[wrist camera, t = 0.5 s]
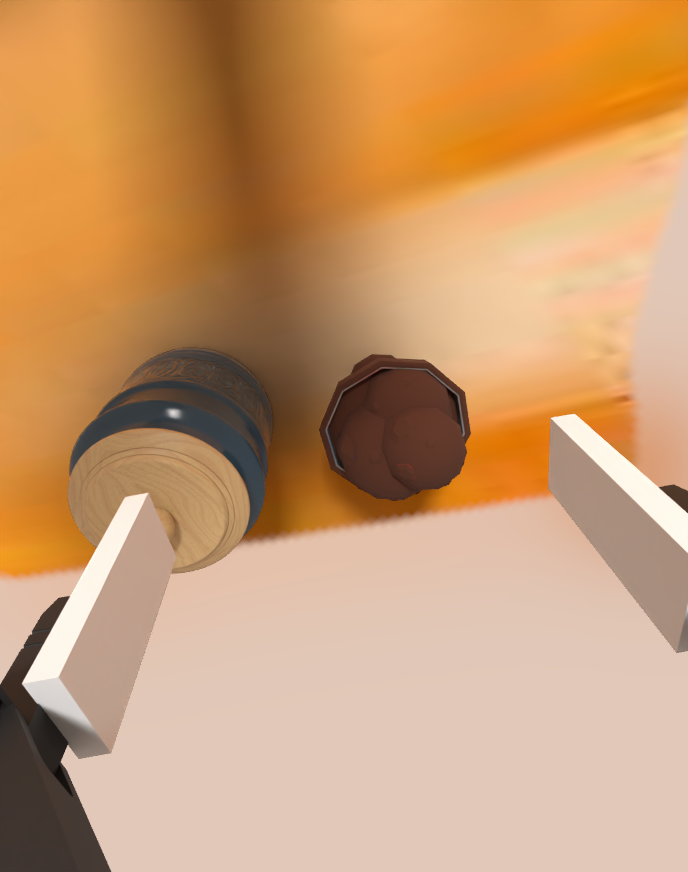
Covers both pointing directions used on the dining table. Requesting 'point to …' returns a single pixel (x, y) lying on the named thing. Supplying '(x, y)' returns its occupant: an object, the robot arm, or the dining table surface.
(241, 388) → the canister
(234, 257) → the dining table surface
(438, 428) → the ice cream bowl
